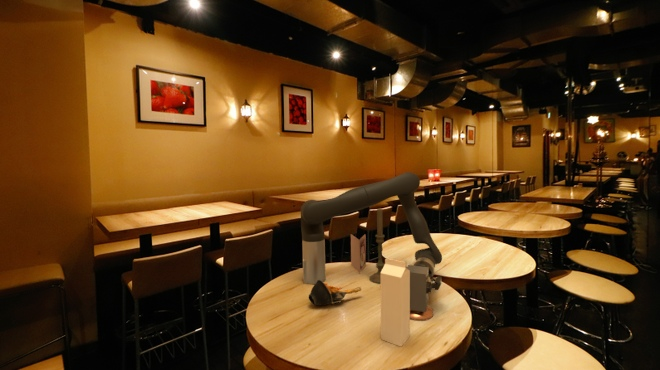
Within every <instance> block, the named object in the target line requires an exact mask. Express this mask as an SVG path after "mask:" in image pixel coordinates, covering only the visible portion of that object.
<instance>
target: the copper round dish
mask: <svg viewBox="0 0 660 370" xmlns="http://www.w3.org/2000/svg"><path fill="white" fill-rule="evenodd" d="M433 317H434V310H433V309H432V308H431V307H430V306H429V305H428V307H427V310H426V312H422V311H416V310H411V309H410V320H413V321H418V322H420V321H421V322H423V321H428V320H431V319H432V318H433Z"/></svg>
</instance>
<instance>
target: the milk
mask: <svg viewBox="0 0 660 370" xmlns="http://www.w3.org/2000/svg"><path fill="white" fill-rule="evenodd" d="M410 323H411V319H410V270H408V269H407V267H406V261H403V260H401V261H400V260H396V259H392V258H391V259H390V258H385V259H384V267H383V269H382V271H381V284H380V339H381V340H382V341H385V342H388V343H391V344H393V345H395V346H398V347H403V345H404V344H405V343H406V342H407V341H408V339H409V338H410V336H411V335H410V334H411V331H410V330H411V326H410V325H411V324H410Z"/></svg>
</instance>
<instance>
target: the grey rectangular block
mask: <svg viewBox="0 0 660 370" xmlns="http://www.w3.org/2000/svg"><path fill="white" fill-rule="evenodd" d="M406 268H407V269H408V270H410V309H411V310H416V311H422V312H426V310H427V307H428V306H429V294H426V287H427V284H428V280H429V267H422V266H414V264H413V265H412V264H408V265H407V267H406Z"/></svg>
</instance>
